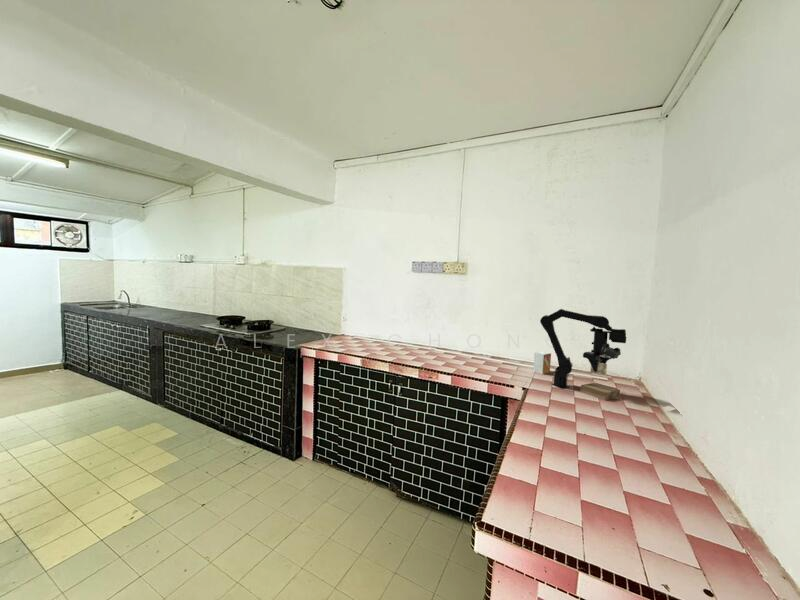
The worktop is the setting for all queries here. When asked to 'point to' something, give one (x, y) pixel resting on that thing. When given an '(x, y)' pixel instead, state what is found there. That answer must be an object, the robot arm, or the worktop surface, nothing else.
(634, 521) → the worktop surface
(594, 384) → the walnut block
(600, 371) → the maple cube
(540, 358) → the small box
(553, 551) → the worktop surface
